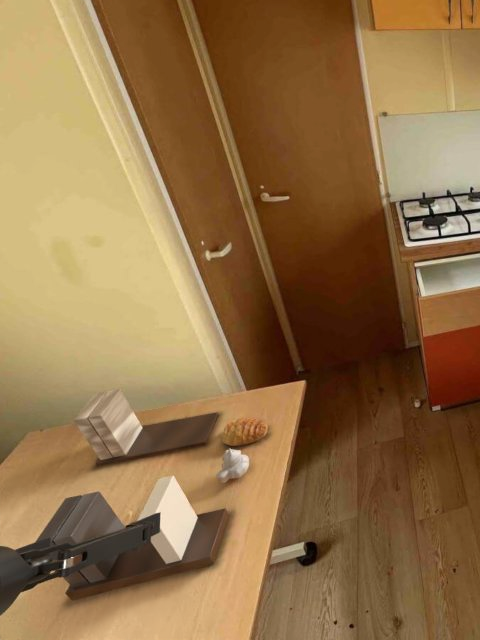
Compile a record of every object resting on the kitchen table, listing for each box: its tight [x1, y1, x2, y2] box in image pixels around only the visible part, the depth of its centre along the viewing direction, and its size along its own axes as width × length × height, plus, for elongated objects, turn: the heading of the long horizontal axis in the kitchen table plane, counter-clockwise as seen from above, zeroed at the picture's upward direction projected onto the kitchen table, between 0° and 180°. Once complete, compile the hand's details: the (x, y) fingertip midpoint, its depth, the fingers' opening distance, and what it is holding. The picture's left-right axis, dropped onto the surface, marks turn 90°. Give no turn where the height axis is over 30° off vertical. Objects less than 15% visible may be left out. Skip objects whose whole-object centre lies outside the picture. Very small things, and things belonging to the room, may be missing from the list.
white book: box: [136, 475, 198, 564], centre depth 77 cm, size 2×8×13 cm, turn 15°
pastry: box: [221, 417, 268, 447], centre depth 103 cm, size 9×7×4 cm
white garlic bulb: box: [216, 447, 250, 483], centre depth 92 cm, size 5×7×8 cm
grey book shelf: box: [35, 490, 231, 602], centre depth 76 cm, size 22×9×16 cm, turn 105°
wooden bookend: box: [72, 388, 219, 467], centre depth 100 cm, size 22×9×14 cm, turn 105°
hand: (103, 535), depth 61 cm, fingers open, 13 cm apart
